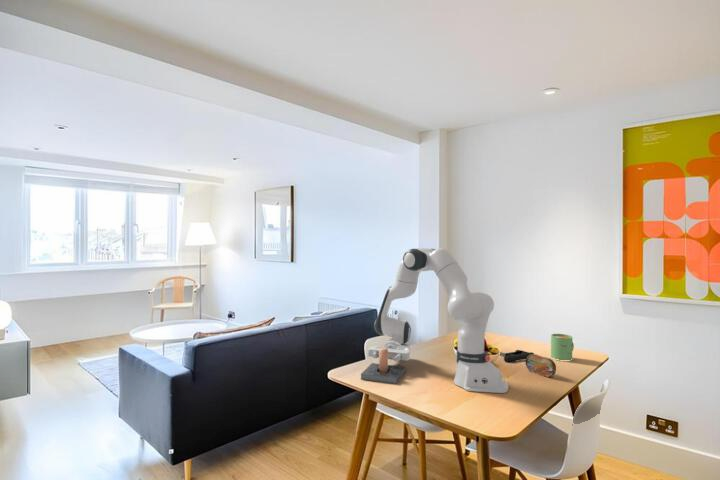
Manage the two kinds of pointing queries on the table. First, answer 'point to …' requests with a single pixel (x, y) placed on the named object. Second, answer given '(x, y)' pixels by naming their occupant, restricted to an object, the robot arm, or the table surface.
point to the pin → (383, 360)
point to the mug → (561, 346)
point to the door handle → (515, 355)
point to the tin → (540, 365)
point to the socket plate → (383, 374)
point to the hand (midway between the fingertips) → (384, 357)
